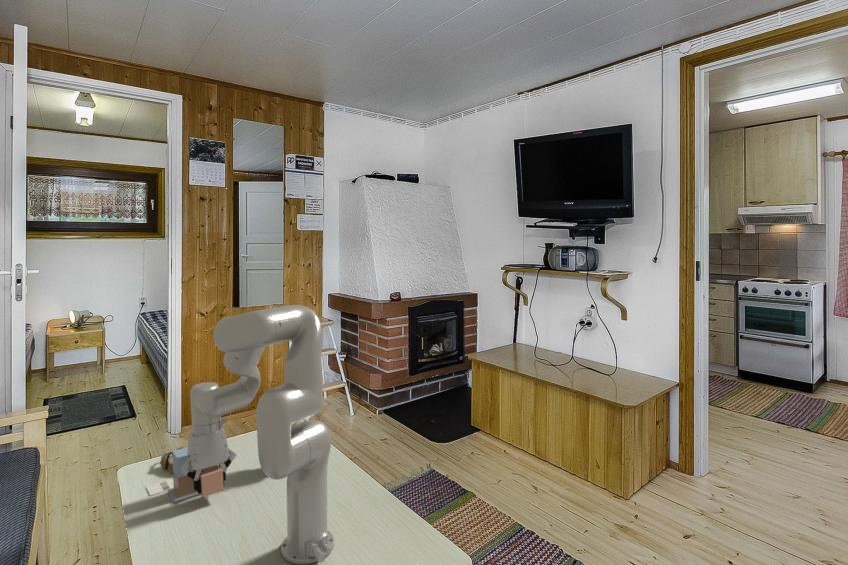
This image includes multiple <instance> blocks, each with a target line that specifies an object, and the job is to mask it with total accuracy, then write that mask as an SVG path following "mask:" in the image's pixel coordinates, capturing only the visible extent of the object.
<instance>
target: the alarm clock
mask: <svg viewBox="0 0 848 565" xmlns="http://www.w3.org/2000/svg"><path fill="white" fill-rule="evenodd" d="M182 448H185V447H184V446H183V447H181V446H180V447H178V448H176V449H175V450H178V449H182ZM171 454H172V451H170V452H166V453H164V454H162V455H161V456H160V461H159V464H160V467H161V469H162V470H164V471H168V472H169V473H170V474H172V475H173V458H172V455H171Z"/></svg>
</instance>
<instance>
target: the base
mask: <svg viewBox="0 0 848 565" xmlns="http://www.w3.org/2000/svg"><path fill="white" fill-rule="evenodd" d="M172 479H173V486H174V488H171V489H168V491H167V492H168V495H169V496H170V498H171V500H172V501H173V503H174V504H175V505H177V504H180V503H183V502H185V501H188V500H191V499H194V498H196V497H200V496H201V497H202V495H201V494H199V493H198V492H197V491H195V490H194V481H193V479H192V478H190V477H188V476H183V477H180V478H178V477H177V476H176V474H175V473H174V471H173V474H172Z"/></svg>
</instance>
